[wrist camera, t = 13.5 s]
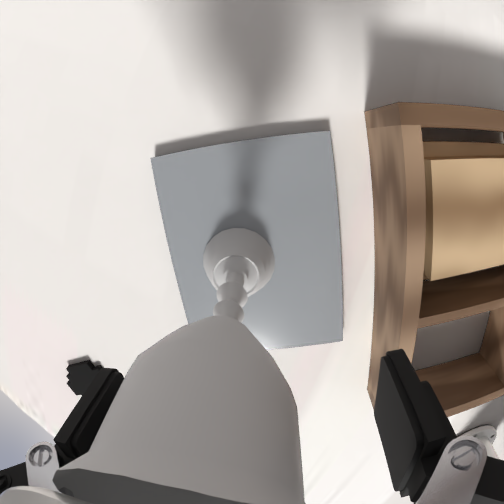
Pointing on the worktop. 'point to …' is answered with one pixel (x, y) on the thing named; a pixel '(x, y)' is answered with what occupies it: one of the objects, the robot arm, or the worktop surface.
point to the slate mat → (260, 230)
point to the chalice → (201, 407)
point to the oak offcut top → (463, 214)
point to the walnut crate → (413, 253)
